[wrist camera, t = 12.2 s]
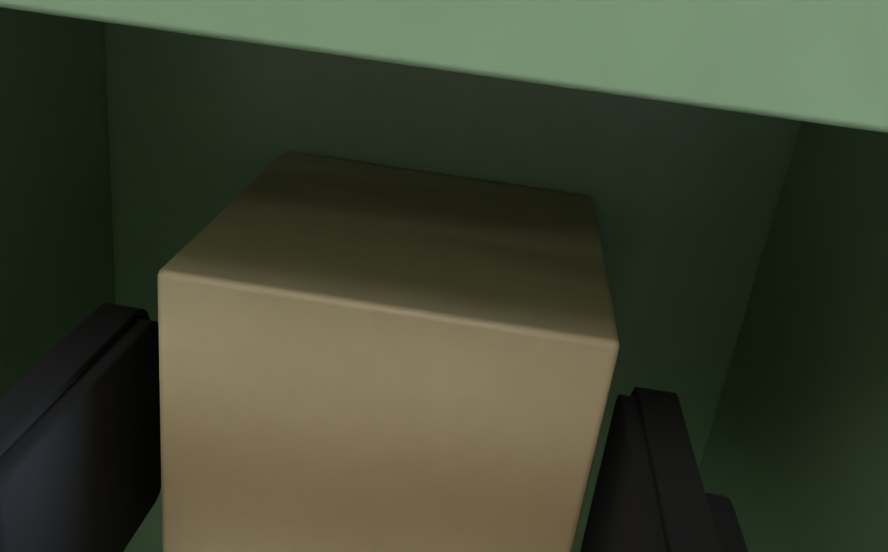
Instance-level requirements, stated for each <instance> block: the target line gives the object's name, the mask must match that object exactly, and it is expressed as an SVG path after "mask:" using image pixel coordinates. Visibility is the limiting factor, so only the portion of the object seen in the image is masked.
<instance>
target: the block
mask: <svg viewBox="0 0 888 552" xmlns="http://www.w3.org/2000/svg"><path fill="white" fill-rule="evenodd" d="M158 328H159V383H160V439H161V494H162V549H163V552H572V550H573V546H574V542H575V537H576V533H577V529H578V524H579V520H580V516H581V511H582V507H583V503H584V499H585V494H586V490H587V486H588V481H589V477H590V473H591V469H592V464H593V460H594V456H595V451H596V447H597V443H598V439H599V434H600V430H601V426H602V421H603V417H604V413H605V408H606V404H607V400H608V396H609V391H610V387H611V383H612V378H613V374H614V370H615V366H616V361H617V357H618V353H619V348H620V345H619V340H618V334H617V328H616V323H615V317H614V312H613V306H612V301H611V295H610V290H609V284H608V278H607V273H606V267H605V262H604V256H603V251H602V245H601V239H600V234H599V228H598V223H597V217H596V212H595V206H594V201H593V198H591V197H590V196H584V195H577V194H570V193H563V192H556V191H550V190H543V189H536V188H529V187H523V186H516V185H509V184H502V183H496V182H489V181H482V180H475V179H469V178H462V177H455V176H448V175H441V174H435V173H428V172H421V171H414V170H408V169H401V168H394V167H387V166H381V165H374V164H367V163H360V162H354V161H347V160H340V159H333V158H326V157H320V156H313V155H306V154H299V153H293V152H285V153H283V154H282V155H281V156H280V157H279V158H278V159H277V160H276V161H275V162H274V163H272V164H271V165H270V166H269V167H268V168H267V169H266V170H265V171H264V172H263V173H262V174H261V175H260V176H259V177H258V178H257V179H256V180H254V181H253V182H252V183H251V184H250V185H249V186H248V187H247V188H246V189H245V190H244V191H243V192H242V193H241V194H240V195H239V196H238V197H236V198H235V199H234V200H233V201H232V202H231V203H230V204H229V205H228V206H227V207H226V208H225V209H224V210H223V211H222V212H221V213H220V214H219V215H217V216H216V217H215V218H214V219H213V220H212V221H211V222H210V223H209V224H208V225H207V226H206V227H205V228H204V229H203V230H202V231H201V232H199V233H198V234H197V235H196V236H195V237H194V238H193V239H192V240H191V241H190V242H189V243H188V244H187V245H186V246H185V247H184V248H183V249H181V250H180V251H179V252H178V253H177V254H176V255H175V256H174V257H173V258H172V259H171V260H170V261H169V262H168V263H167V264H166V265H165V266H164V267H162V268H161V269H160V271H159V273H158Z"/></svg>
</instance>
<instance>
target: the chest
mask: <svg viewBox="0 0 888 552" xmlns="http://www.w3.org/2000/svg"><path fill="white" fill-rule="evenodd" d="M285 152H293V153H299V154H306V155H313V156H320V157H326V158H333V159H340V160H347V161H354V162H360V163H367V164H374V165H381V166H387V167H394V168H401V169H408V170H414V171H421V172H428V173H435V174H441V175H448V176H455V177H462V178H469V179H475V180H482V181H489V182H496V183H502V184H509V185H516V186H523V187H529V188H536V189H543V190H550V191H556V192H563V193H570V194H577V195H584V196H590V197H591V198H593V201H594V206H595V212H596V217H597V223H598V228H599V234H600V239H601V245H602V251H603V256H604V262H605V267H606V273H607V278H608V284H609V290H610V295H611V301H612V306H613V312H614V317H615V323H616V328H617V334H618V340H619V345H620V348H619V353H618V357H617V361H616V366H615V370H614V374H613V378H612V383H611V387H610V391H609V396H608V400H607V404H606V408H605V413H604V417H603V421H602V426H601V430H600V434H599V439H598V443H597V447H596V451H595V456H594V460H593V464H592V469H591V473H590V477H589V481H588V486H587V490H586V494H585V499H584V503H583V507H582V511H581V516H580V520H579V524H578V529H577V533H576V537H575V542H574V546H573V550H572V552H580V551H581V545H582V541H583V537H584V532H585V528H586V524H587V520H588V516H589V511H590V507H591V503H592V499H593V495H594V490H595V486H596V482H597V478H598V474H599V469H600V465H601V461H602V457H603V452H604V448H605V444H606V440H607V436H608V431H609V427H610V423H611V419H612V415H613V410H614V406H615V402H616V399H617V397H618V395H619V394H620V395H626V396H631V394H632V391H633V389H634V388H635V387H642V388H648V389H654V390H661V391H667V392H673V393H676V394H677V396H678V399H679V402H680V406H681V409H682V413H683V416H684V420H685V423H686V427H687V430H688V434H689V437H690V441H691V444H692V448H693V451H694V455H695V458H696V462H697V465H698V469H699V473H700V476H701V480H702V483H703V487H704V490H705V493H711V494H717V495H723V496H726V497H728V498H729V499H730V500H731V503H732V505H733V507H734V510H735V513H736V516H737V519H738V522H739V525H740V528H741V531H742V534H743V538H744V541H745V544H746V547H747V550H748V552H888V0H0V395H1V394H2V393H3V392H4V391H6V390H7V389H8V388H9V387H10V386H11V385H12V384H13V383H14V382H16V381H17V380H18V379H19V378H20V377H21V376H22V375H23V374H24V373H26V372H27V371H28V370H29V369H30V368H31V367H32V366H33V365H34V364H36V363H37V362H38V361H39V360H40V359H41V358H42V357H43V356H45V355H46V354H47V353H48V352H49V351H50V350H51V349H52V348H53V347H55V346H56V345H57V344H58V343H59V342H60V341H61V340H62V339H63V338H65V337H66V336H67V335H68V334H69V333H70V332H71V331H72V330H73V329H75V328H76V327H77V326H78V325H79V324H80V323H81V322H82V321H84V320H85V319H86V318H87V317H88V316H89V315H90V314H91V313H92V312H94V311H95V310H96V309H97V308H98V307H99V306H100V305H102V304H104V303H110V304H116V305H122V306H129V307H135V308H141V309H145V310H146V311H147V312H148V315H149V317H150V320H153V321H157V322H158V273H159V271H160V269H161V268H162V267H164V266H165V265H166V264H167V263H168V262H169V261H170V260H171V259H172V258H173V257H174V256H175V255H176V254H177V253H178V252H179V251H180V250H181V249H183V248H184V247H185V246H186V245H187V244H188V243H189V242H190V241H191V240H192V239H193V238H194V237H195V236H196V235H197V234H198V233H199V232H201V231H202V230H203V229H204V228H205V227H206V226H207V225H208V224H209V223H210V222H211V221H212V220H213V219H214V218H215V217H216V216H217V215H219V214H220V213H221V212H222V211H223V210H224V209H225V208H226V207H227V206H228V205H229V204H230V203H231V202H232V201H233V200H234V199H235V198H236V197H238V196H239V195H240V194H241V193H242V192H243V191H244V190H245V189H246V188H247V187H248V186H249V185H250V184H251V183H252V182H253V181H254V180H256V179H257V178H258V177H259V176H260V175H261V174H262V173H263V172H264V171H265V170H266V169H267V168H268V167H269V166H270V165H271V164H272V163H274V162H275V161H276V160H277V159H278V158H279V157H280V156H281V155H282V154H283V153H285ZM123 552H163V549H162V494H161V490H160V493H159V496H158V498H157V500H156V502H155V504H154V505H153V507H152V508H151V510H150V511H149V513H148V514H147V516H146V518H145V519H144V521H143V522H142V524H141V525H140V527H139V528H138V530H137V531H136V533H135V534H134V536H133V537H132V539H131V541H130V542H129V544H128V545H127V547H126V548H125V550H124V551H123Z"/></svg>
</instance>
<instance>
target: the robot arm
mask: <svg viewBox="0 0 888 552" xmlns="http://www.w3.org/2000/svg"><path fill="white" fill-rule="evenodd" d="M160 490H161V439H160V383H159V328H158V322H157V321H153V320H150V317H149V315H148V312H147V311H146V310H145V309H141V308H135V307H129V306H122V305H116V304H110V303H104V304H102V305H100V306H99V307H98V308H97V309H96V310H95V311H94V312H92V313H91V314H90V315H89V316H88V317H87V318H86V319H85V320H84V321H82V322H81V323H80V324H79V325H78V326H77V327H76V328H75V329H73V330H72V331H71V332H70V333H69V334H68V335H67V336H66V337H65V338H63V339H62V340H61V341H60V342H59V343H58V344H57V345H56V346H55V347H53V348H52V349H51V350H50V351H49V352H48V353H47V354H46V355H45V356H43V357H42V358H41V359H40V360H39V361H38V362H37V363H36V364H34V365H33V366H32V367H31V368H30V369H29V370H28V371H27V372H26V373H24V374H23V375H22V376H21V377H20V378H19V379H18V380H17V381H16V382H14V383H13V384H12V385H11V386H10V387H9V388H8V389H7V390H6V391H4V392H3V393H2V394H1V395H0V552H123V551H124V550H125V548H126V547H127V545H128V544H129V542H130V541H131V539H132V537H133V536H134V534H135V533H136V531H137V530H138V528H139V527H140V525H141V524H142V522H143V521H144V519H145V518H146V516H147V514H148V513H149V511H150V510H151V508H152V507H153V505H154V504H155V502H156V500H157V498H158V496H159V493H160ZM580 552H748V550H747V547H746V544H745V541H744V538H743V534H742V531H741V528H740V525H739V522H738V519H737V516H736V513H735V510H734V507H733V505H732V503H731V500H730V499H729V498H728V497H726V496H723V495H717V494H711V493H705V490H704V487H703V483H702V480H701V476H700V473H699V469H698V465H697V462H696V458H695V455H694V451H693V448H692V444H691V441H690V437H689V434H688V430H687V427H686V423H685V420H684V416H683V413H682V409H681V406H680V402H679V399H678V396H677V394H676V393H673V392H667V391H661V390H654V389H648V388H642V387H635V388H634V389H633V391H632V394H631V396H626V395H620V394H619V395H618V397H617V399H616V402H615V406H614V410H613V415H612V419H611V423H610V427H609V431H608V436H607V440H606V444H605V448H604V452H603V457H602V461H601V465H600V469H599V474H598V478H597V482H596V486H595V490H594V495H593V499H592V503H591V507H590V511H589V516H588V520H587V524H586V528H585V532H584V537H583V541H582V545H581V551H580Z"/></svg>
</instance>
